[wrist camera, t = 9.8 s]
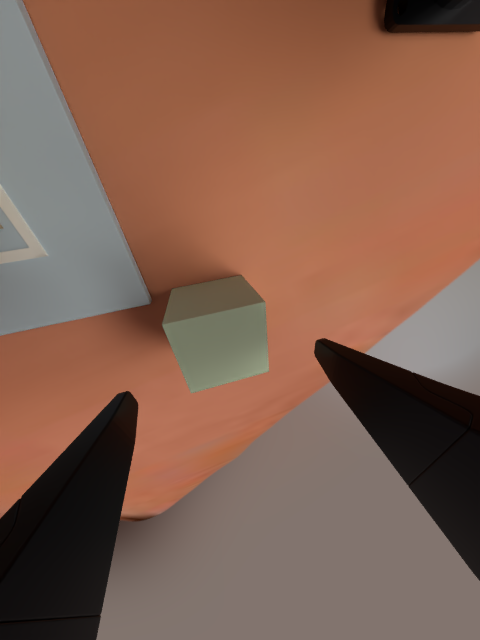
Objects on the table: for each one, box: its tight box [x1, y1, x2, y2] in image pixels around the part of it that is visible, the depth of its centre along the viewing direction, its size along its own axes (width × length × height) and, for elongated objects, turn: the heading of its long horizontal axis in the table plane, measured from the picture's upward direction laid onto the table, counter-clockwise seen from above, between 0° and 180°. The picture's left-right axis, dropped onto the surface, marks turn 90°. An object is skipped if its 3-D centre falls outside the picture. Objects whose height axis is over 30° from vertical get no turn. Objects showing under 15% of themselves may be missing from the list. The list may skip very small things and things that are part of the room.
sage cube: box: [162, 275, 269, 393], centre depth 12 cm, size 5×5×5 cm
